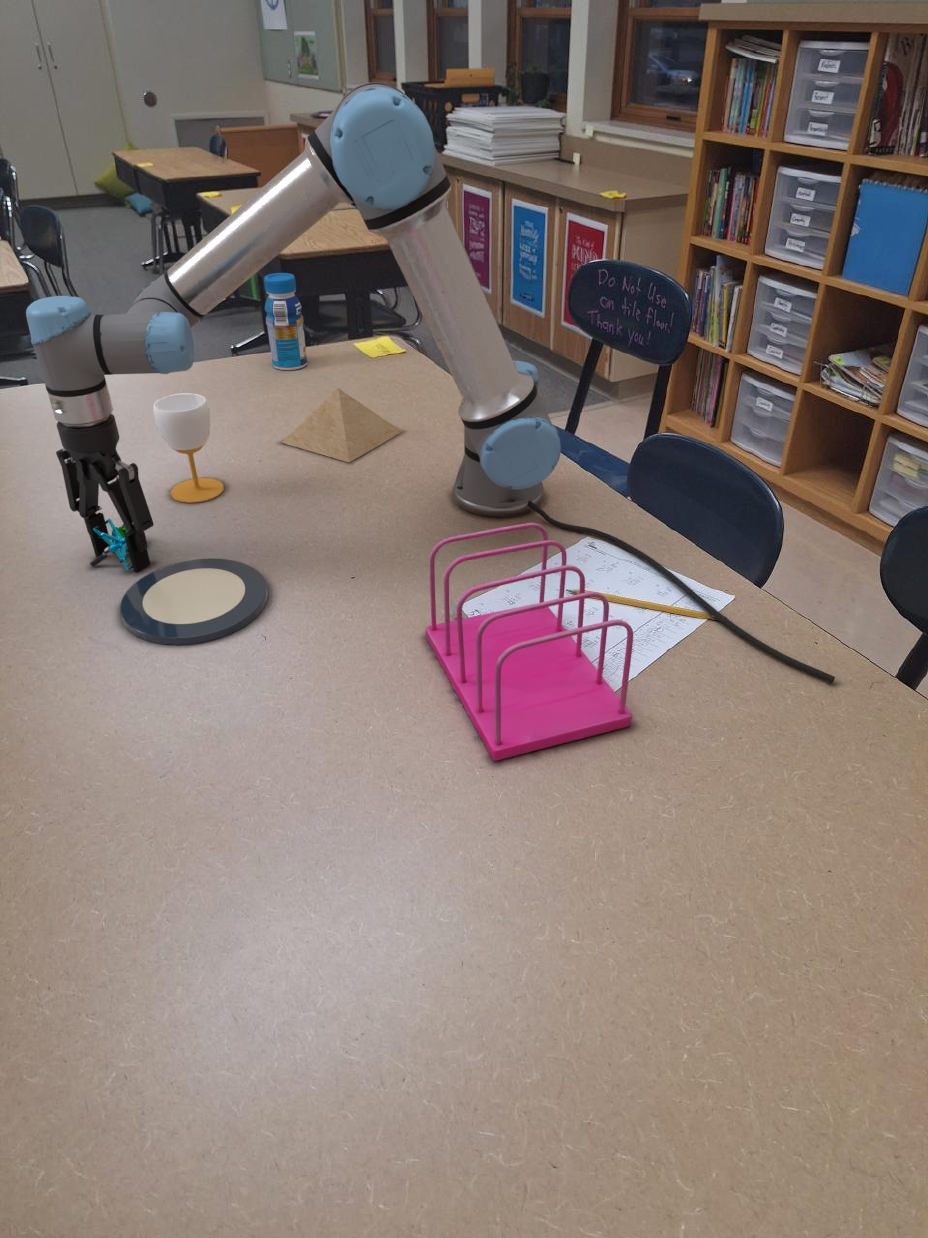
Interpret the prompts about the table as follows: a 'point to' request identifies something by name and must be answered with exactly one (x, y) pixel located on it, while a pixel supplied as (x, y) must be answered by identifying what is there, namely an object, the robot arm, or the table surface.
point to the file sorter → (527, 662)
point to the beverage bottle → (284, 322)
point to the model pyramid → (341, 429)
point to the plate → (194, 601)
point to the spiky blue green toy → (113, 544)
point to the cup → (187, 440)
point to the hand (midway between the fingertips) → (123, 560)
